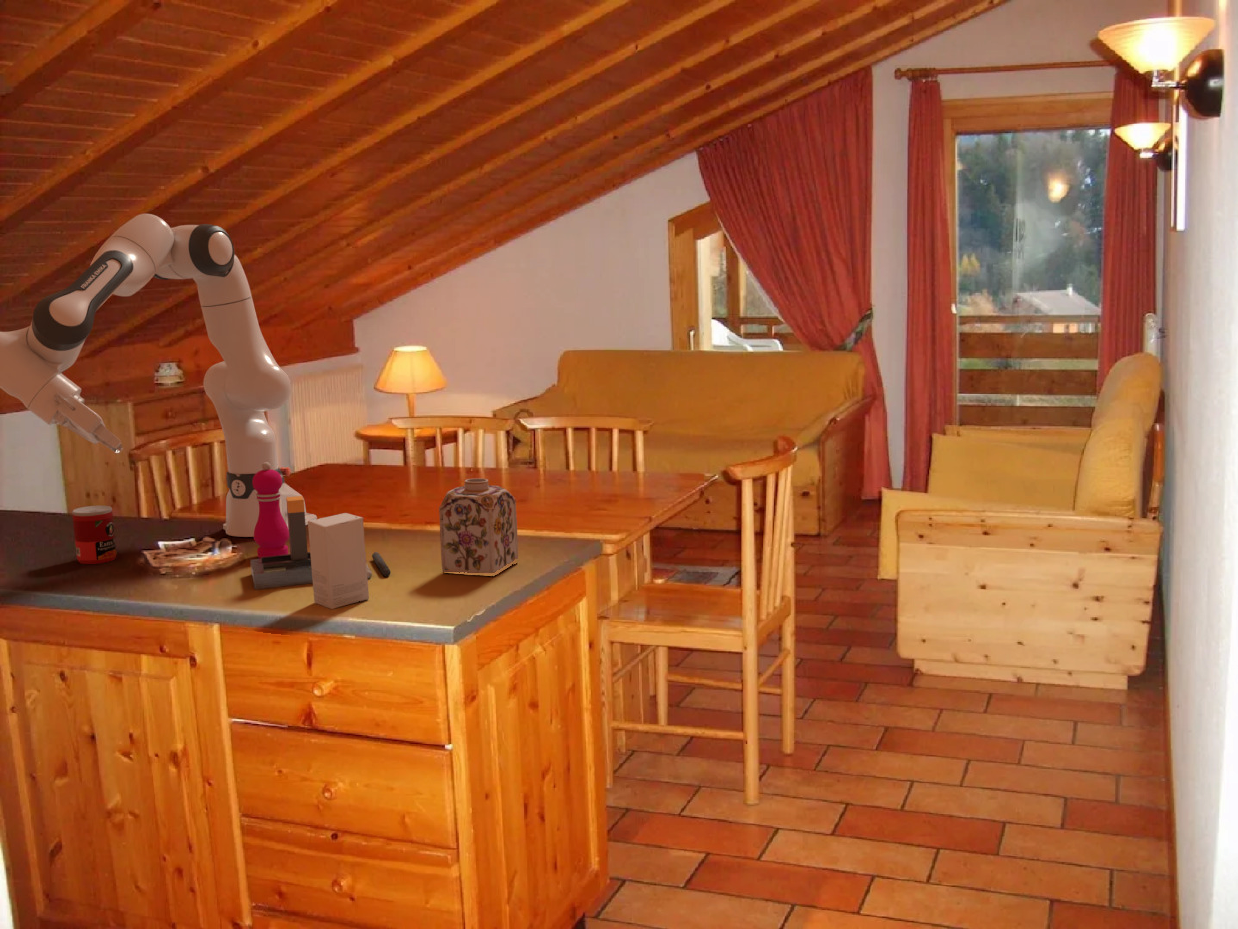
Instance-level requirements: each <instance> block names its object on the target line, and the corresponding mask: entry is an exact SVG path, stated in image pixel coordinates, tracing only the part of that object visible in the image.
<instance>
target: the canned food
mask: <svg viewBox="0 0 1238 929" xmlns="http://www.w3.org/2000/svg"><path fill="white" fill-rule="evenodd" d="M71 511H72V513H71V515H72V523H73V524H72V525H73V534H74V542H75V551H76V560H77V561H78V563H79V564H82V565H99V564H105V562H106V563H109V561H110V562H112V561H114V560H115V559H116V558H117V545H116V536H115V524H114V515H113V508H112V507H111V506H109V505H90V506H88V505H87V506H83V507H82V506H81V507H78V508H75V509H73V510H71Z"/></svg>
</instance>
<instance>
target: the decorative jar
mask: <svg viewBox="0 0 1238 929" xmlns="http://www.w3.org/2000/svg"><path fill="white" fill-rule="evenodd" d="M516 502H517V500H516V499H515V497H514V495H513V494H511V492H510V491H509V490H507V489H506V488H505V487H502V486H499V485H489V479H487V478H482V477H481V478H480V477H479V478H467V479H465V480H464V485H463V486H458V487H454V488H453V489H451V490H448V491H447V492H446V493H445V496H444V498H443V499H442V502H441V504H440V505H439V507H438V513H439V516H438V517H439V537H440V541H439V542H440V555H441V556H440V557H441V560H440V561H441V569H442V570H441V572H442V573H443V572H459V573H460V572H464V573H465V572H467V573H495V572H496V571H497V570H500V569H501V568H503V567H504V566H506V565H507V564H510V563H511V562H513V561H514V560H515V559H518V560H519V546H518V545H519V540H518V519H517V518H518V517H517V503H516Z"/></svg>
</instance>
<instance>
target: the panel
mask: <svg viewBox="0 0 1238 929" xmlns="http://www.w3.org/2000/svg"><path fill="white" fill-rule="evenodd" d="M307 552H308V559H302V560H292V561H291V555H290V553H288V554H286V555H276V556H266V557H261V558H256V559H254V558H253V559H250V571H251V579H252V583H253V587H254V590H261V589H263V590H265V589H272V588H280V587H281V588H282V587H290V586H297V585H298V586H300V585H307V584H313V579H312V567H311V554H310V551H307Z"/></svg>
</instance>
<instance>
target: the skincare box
mask: <svg viewBox="0 0 1238 929" xmlns="http://www.w3.org/2000/svg"><path fill="white" fill-rule="evenodd" d="M307 528H308V529H307V530H308V540H309V552H310V554H311V567H312V579H313V583H312V589H313V599H314V600H313V602H314V603H315V604H317V605H320V606H323V607H324V608H328V609H330V610H334V609H337V608H340V607H345V606H347V605H351V604H355V603H359V601H360V602H364V601H367V600H369V599H370V595H369V594H370V593H369V582H368V578H367V567H366V564H367V556H366V544H365V543H366V542H365V541H366V540H365V529H364V528H365V527H364V517H362V516H358V515H354V514H352V513H348V512H343V513H339V514H334V515H330V516H326V517H325V516H324V517H321V518H317V519H315V520H310V521H308V524H307Z"/></svg>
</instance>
